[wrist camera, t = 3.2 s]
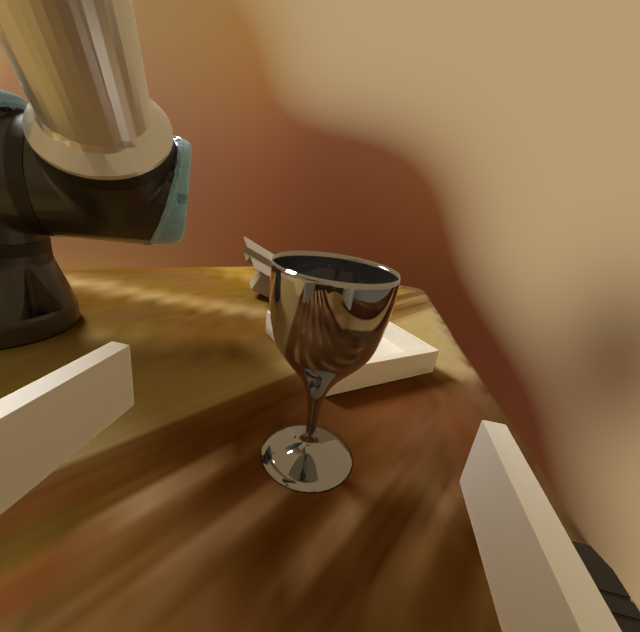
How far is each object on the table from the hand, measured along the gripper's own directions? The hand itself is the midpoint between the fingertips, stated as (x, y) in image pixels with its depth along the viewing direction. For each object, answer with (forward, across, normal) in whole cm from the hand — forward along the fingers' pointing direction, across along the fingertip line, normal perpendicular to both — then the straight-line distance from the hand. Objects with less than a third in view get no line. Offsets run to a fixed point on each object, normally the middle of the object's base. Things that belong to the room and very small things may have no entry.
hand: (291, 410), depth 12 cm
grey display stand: (+47, -13, -11) cm, 50 cm away
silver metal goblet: (+10, 0, -12) cm, 15 cm away
